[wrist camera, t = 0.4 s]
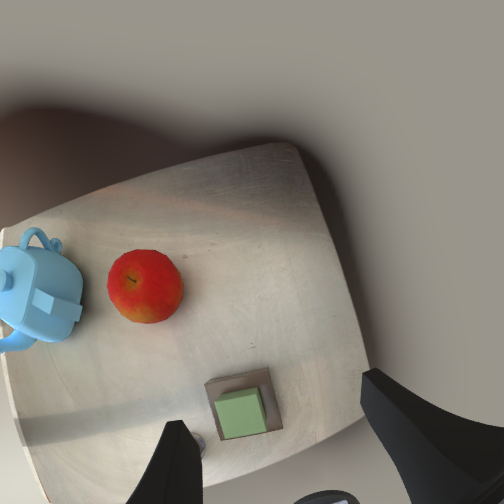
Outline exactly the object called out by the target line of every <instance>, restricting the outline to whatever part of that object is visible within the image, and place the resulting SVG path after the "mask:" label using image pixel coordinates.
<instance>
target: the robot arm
mask: <svg viewBox="0 0 504 504" xmlns="http://www.w3.org/2000/svg"><path fill="white" fill-rule="evenodd" d="M360 404H361V406H362V408H363V411H364V413H365V415H366V417H367V419H368V421H369V423H370V425H371V427H372V428H373V430H374V432H375V433H376V435H377V436H378V438H379V439H380V441H381V442H382V444H383V446H384V447H385V449H386V451H387V452H388V454H389V455H390V457H391V458H392V460H393V462H394V464H395V466H396V467H397V470H398V472H399V474H400V476H401V478H402V480H403V483H404V485H405V488H406V490H407V493H408V495H409V498H410V500H411V503H412V504H504V427H497V426H492V425H486V424H483V423H479V422H475V421H472V420H468V419H465V418H462V417H460V416H457V415H455V414H452V413H450V412H447V411H445V410H443V409H441V408H439V407H437V406H435V405H433V404H431V403H429V402H428V401H426V400H424V399H422V398H421V397H419V396H417V395H416V394H414V393H412V392H411V391H409V390H408V389H406V388H405V387H403V386H402V385H400V384H399V383H397V382H396V381H394V380H393V379H392V378H390V377H389V376H387V375H386V374H384V373H383V372H382V371H381V370H379V369H378V368H373V369H371V370H369V371H366V372H364V373H362V388H361V400H360ZM126 504H203V480H202V461H201V454H200V447H199V444H198V443H197V442H196V440H195V439H194V437H193V436H192V434H191V433H190V431H189V430H188V428H187V427H186V425H185V424H184V422H183V421H182V420H176V421H168V422H167V423H166V425H165V427H164V430H163V432H162V435H161V437H160V440H159V442H158V445H157V447H156V449H155V451H154V454H153V456H152V458H151V460H150V462H149V464H148V466H147V468H146V470H145V472H144V474H143V476H142V478H141V480H140V482H139V483H138V485H137V487H136V489H135V490H134V492H133V493H132V495H131V496H130V498H129V499H128V501H127V502H126ZM333 504H348V502H347V500H342V501H339V502H336V503H333Z"/></svg>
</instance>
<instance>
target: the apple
mask: <svg viewBox="0 0 504 504" xmlns="http://www.w3.org/2000/svg"><path fill="white" fill-rule="evenodd" d="M107 288H108V292H109V296H110V299H111V301H112V302H113V303H114V305H115V306H116V308H117V309H118V310H119V312H120V313H121V314H122V315H123V316H124V317H126V318H128V319H129V320H131V321H133V322H138V323H145V324H149V323H157V322H160V321H163V320H166V319H168V318H169V317H170V316H171V315H172V314H173V313H174V312H175V311H176V310H177V308H178V306H179V304H180V302H181V300H182V293H183V283H182V279H181V276H180V273H179V271H178V270H177V268H176V267H175V266H174V264H173V263H172V262H171V261H170V259H169V258H168V257H167V256H166V255H164V254H162V253H160V252H158V251H156V250H140V249H136V250H133V251H130V252H127V253H124V254H123V255H122V256H121V257H120V258H118V259H117V260H116V261H115V262H114V264H113V266H112V268H111V270H110V272H109V276H108V283H107Z"/></svg>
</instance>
